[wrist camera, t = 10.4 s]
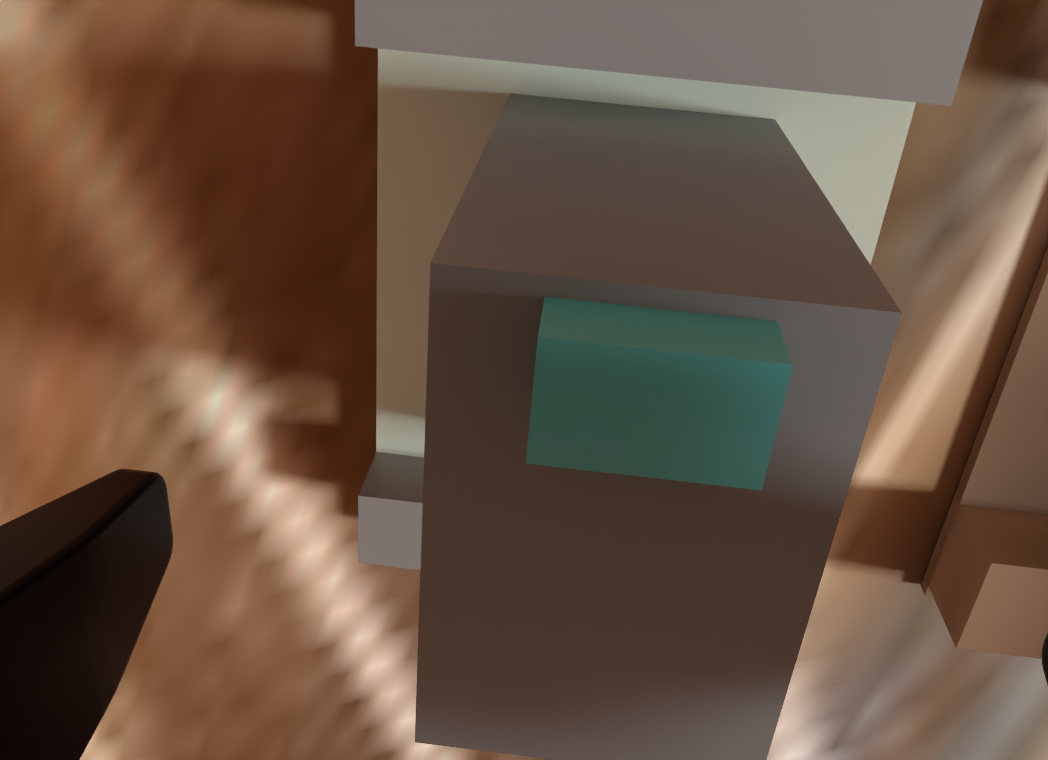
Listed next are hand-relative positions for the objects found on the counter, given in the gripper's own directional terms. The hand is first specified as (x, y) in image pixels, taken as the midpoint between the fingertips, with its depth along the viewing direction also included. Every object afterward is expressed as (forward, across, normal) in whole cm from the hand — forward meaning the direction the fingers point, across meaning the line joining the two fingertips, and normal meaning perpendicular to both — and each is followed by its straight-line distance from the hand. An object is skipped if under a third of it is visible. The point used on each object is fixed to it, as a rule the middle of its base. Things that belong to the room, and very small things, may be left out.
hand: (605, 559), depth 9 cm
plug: (+7, 0, 0) cm, 7 cm away
